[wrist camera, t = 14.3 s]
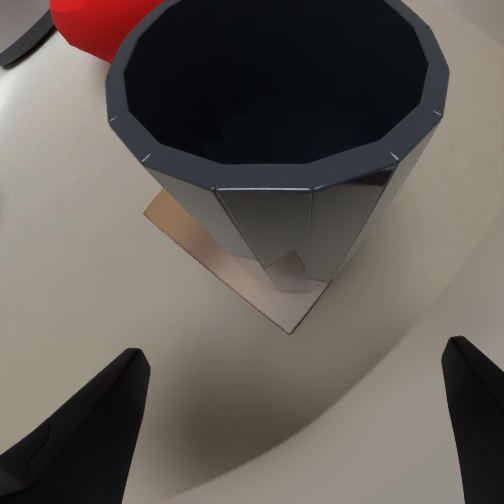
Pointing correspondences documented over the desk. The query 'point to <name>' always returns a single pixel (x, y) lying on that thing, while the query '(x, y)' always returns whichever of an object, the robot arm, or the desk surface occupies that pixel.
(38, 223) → the desk surface
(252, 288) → the cork pad
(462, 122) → the desk surface
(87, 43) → the vase
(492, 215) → the desk surface
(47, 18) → the planter
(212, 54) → the pencil cup
